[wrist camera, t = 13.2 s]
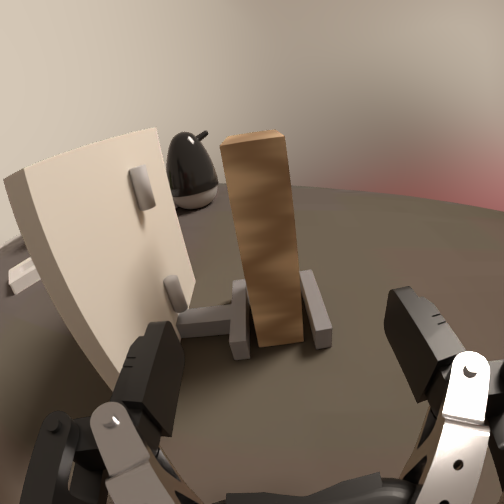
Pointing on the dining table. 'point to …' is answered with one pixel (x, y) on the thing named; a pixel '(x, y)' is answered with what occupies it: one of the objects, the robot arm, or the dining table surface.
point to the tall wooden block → (265, 232)
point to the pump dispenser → (190, 171)
